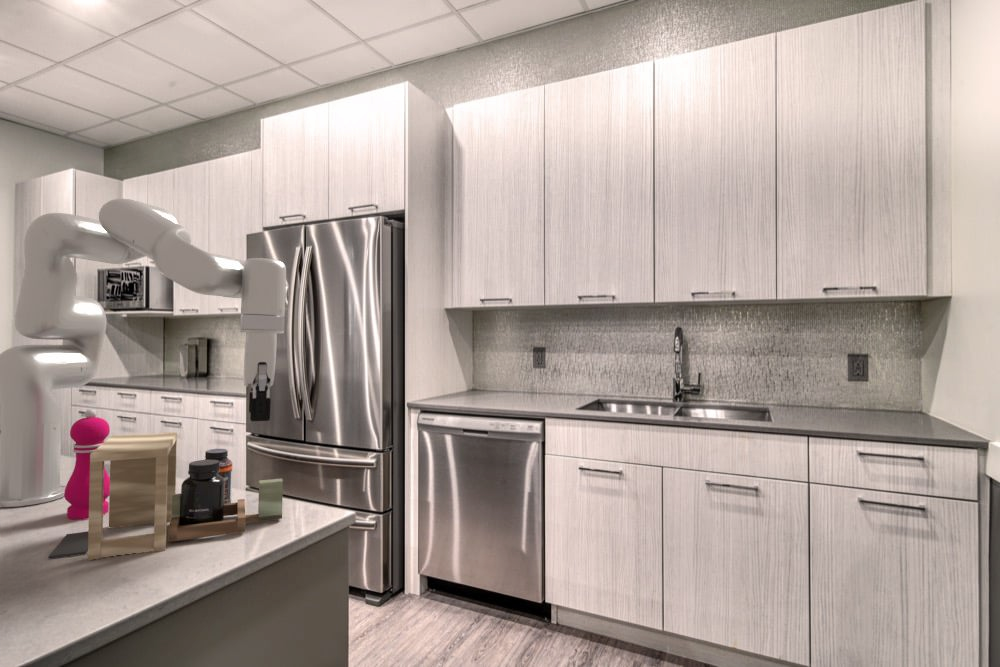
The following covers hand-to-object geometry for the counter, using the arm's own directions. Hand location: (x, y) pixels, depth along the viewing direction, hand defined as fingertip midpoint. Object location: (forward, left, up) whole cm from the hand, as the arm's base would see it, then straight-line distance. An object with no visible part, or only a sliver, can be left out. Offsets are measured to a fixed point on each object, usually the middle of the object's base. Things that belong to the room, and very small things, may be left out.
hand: (258, 416), depth 100 cm
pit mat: (+1, -27, -20) cm, 33 cm away
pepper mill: (-16, -29, -20) cm, 38 cm away
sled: (+1, -5, -19) cm, 20 cm away
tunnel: (+1, -19, -20) cm, 27 cm away
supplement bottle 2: (-12, -7, -20) cm, 24 cm away
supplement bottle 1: (+1, -9, -20) cm, 22 cm away
